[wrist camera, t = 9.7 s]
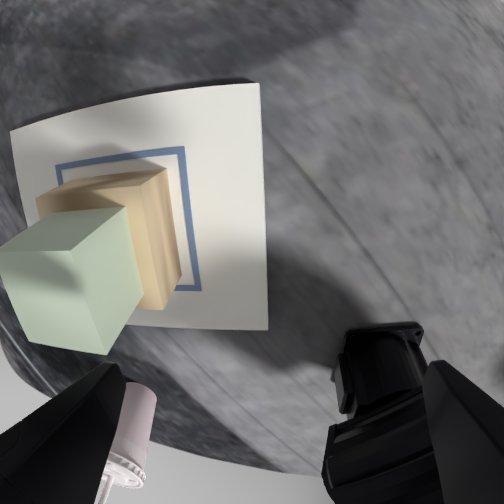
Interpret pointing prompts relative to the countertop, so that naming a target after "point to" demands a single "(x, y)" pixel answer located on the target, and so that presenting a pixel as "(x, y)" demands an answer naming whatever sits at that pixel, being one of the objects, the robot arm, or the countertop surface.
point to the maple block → (131, 223)
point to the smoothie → (130, 440)
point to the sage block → (73, 278)
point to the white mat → (174, 189)
